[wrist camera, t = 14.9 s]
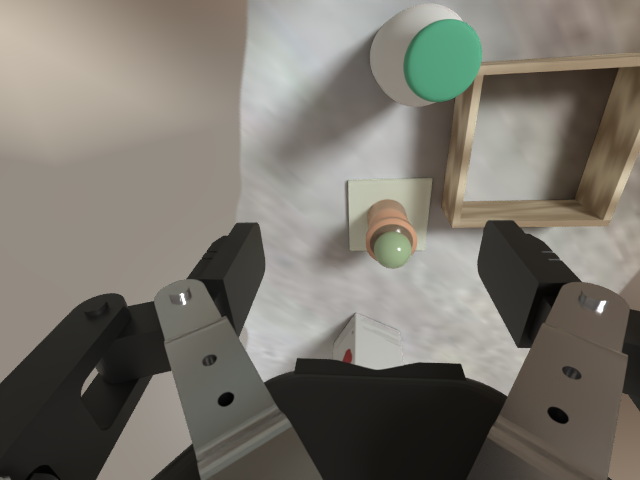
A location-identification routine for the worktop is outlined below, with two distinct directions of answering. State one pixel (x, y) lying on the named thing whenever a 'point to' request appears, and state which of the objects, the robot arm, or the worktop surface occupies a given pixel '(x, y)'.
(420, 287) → the worktop surface
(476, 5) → the worktop surface
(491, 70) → the wooden shadow box
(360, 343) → the supplement box
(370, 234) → the terracotta pot
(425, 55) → the milk bottle
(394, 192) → the sage mat
